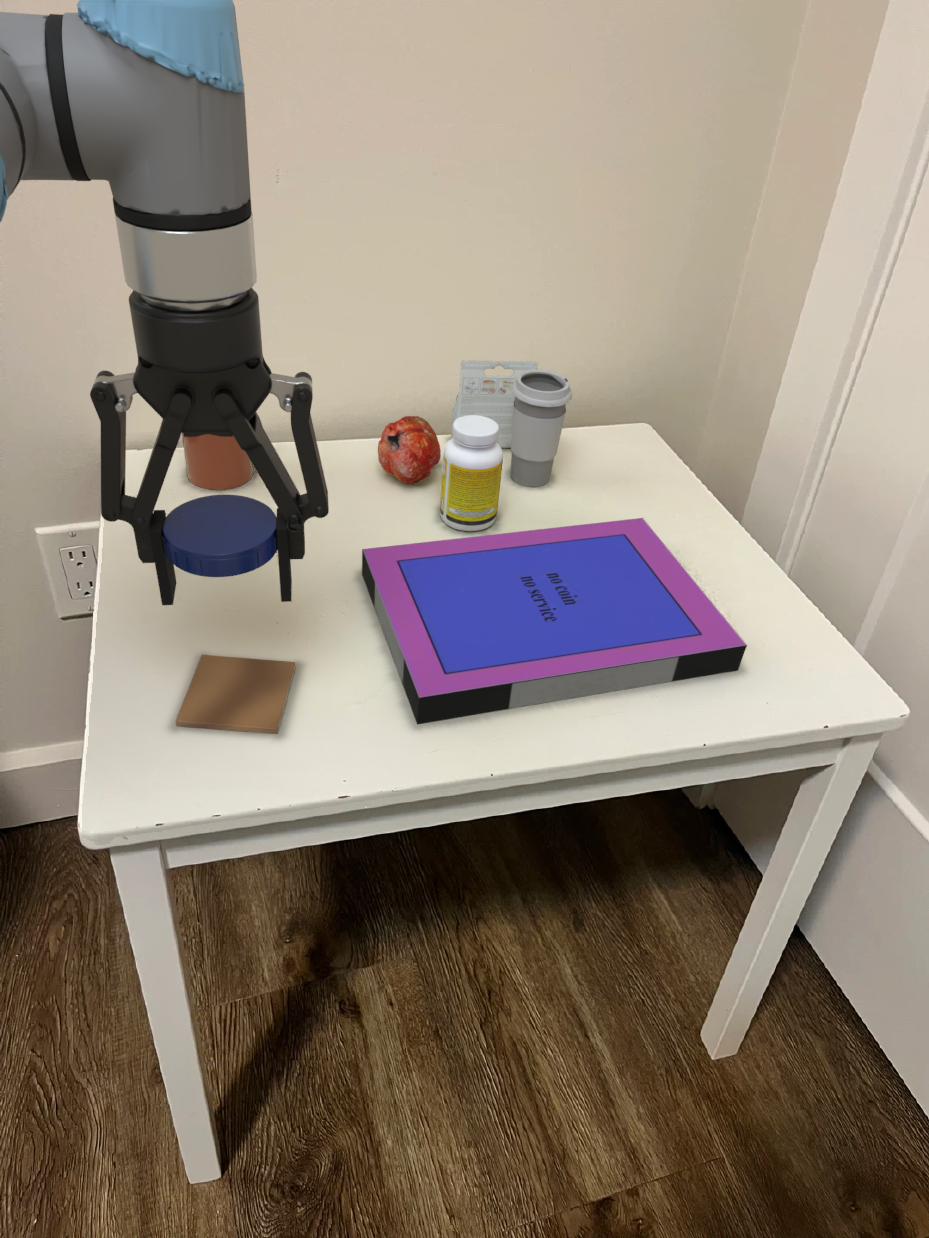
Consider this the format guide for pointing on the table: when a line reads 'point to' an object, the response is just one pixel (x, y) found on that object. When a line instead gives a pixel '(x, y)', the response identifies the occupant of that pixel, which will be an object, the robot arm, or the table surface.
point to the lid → (220, 535)
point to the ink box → (489, 394)
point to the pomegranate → (409, 449)
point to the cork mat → (237, 694)
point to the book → (542, 617)
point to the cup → (537, 424)
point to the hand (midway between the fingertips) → (228, 592)
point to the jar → (216, 462)
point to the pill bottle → (471, 474)
